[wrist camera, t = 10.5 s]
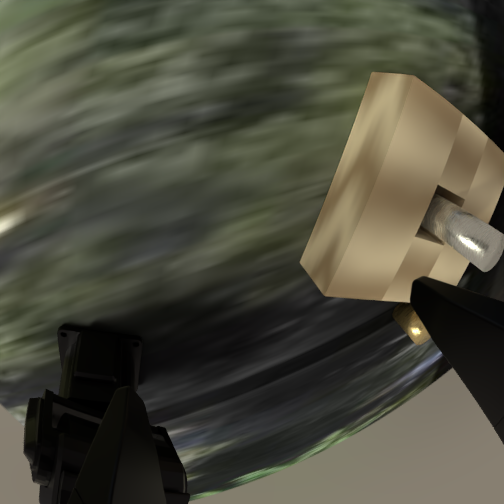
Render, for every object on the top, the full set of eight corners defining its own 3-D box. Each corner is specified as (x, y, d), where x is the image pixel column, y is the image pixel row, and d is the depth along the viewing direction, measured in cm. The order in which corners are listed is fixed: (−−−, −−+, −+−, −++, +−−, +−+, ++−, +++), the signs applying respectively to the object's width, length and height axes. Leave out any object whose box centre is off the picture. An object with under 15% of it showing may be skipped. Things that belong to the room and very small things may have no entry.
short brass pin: (404, 319, 30) (426, 344, 27) (388, 319, 29) (410, 345, 26) (416, 299, 29) (439, 323, 26) (400, 298, 28) (425, 323, 25)
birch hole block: (419, 280, 28) (445, 304, 24) (299, 262, 22) (324, 295, 19) (478, 147, 22) (512, 162, 19) (371, 72, 17) (413, 75, 13)
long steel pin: (409, 214, 23) (491, 273, 16) (388, 206, 22) (475, 269, 15) (422, 185, 22) (509, 237, 15) (401, 175, 21) (495, 229, 14)
